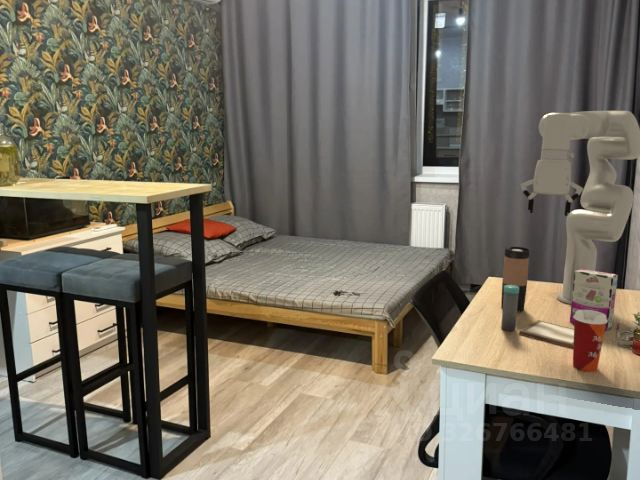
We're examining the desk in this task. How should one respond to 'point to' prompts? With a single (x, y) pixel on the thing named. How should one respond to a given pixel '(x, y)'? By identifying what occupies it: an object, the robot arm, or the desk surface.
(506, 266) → the travel mug
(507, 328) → the marker
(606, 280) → the candy bar box
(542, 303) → the desk surface
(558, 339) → the clipboard
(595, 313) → the paper cup
